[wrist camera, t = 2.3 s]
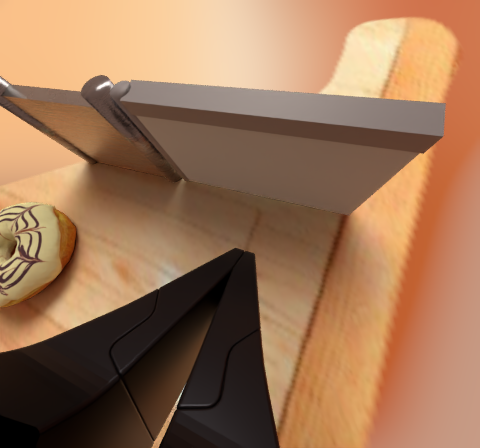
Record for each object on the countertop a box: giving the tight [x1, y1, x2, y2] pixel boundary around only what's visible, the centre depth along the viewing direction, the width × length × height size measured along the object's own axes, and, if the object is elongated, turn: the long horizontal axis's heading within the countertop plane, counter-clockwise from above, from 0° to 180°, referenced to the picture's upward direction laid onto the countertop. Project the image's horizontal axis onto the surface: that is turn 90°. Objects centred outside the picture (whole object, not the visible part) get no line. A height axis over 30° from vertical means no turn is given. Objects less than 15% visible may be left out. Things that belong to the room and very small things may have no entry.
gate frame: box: [0, 75, 182, 182], centre depth 18 cm, size 14×2×10 cm, turn 72°
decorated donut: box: [0, 202, 76, 307], centre depth 19 cm, size 10×11×4 cm
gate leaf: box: [110, 80, 445, 215], centre depth 14 cm, size 17×2×10 cm, turn 72°
